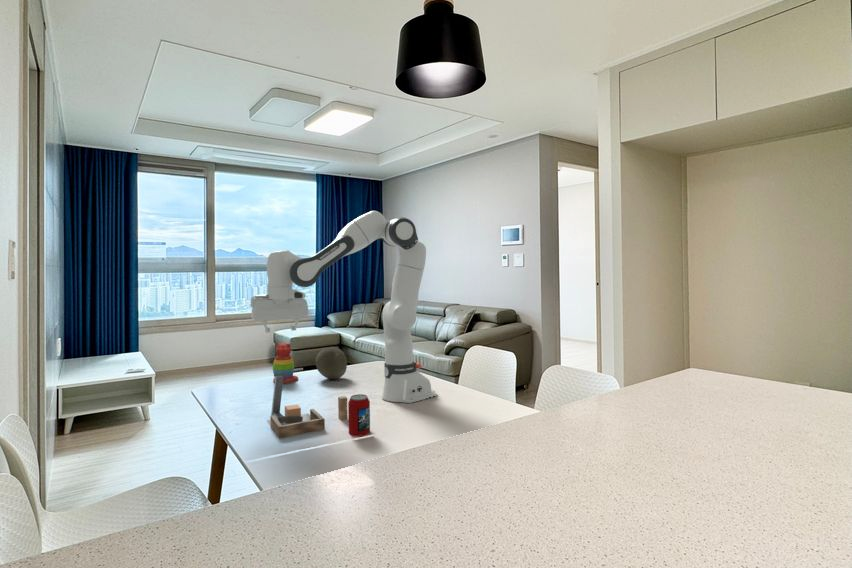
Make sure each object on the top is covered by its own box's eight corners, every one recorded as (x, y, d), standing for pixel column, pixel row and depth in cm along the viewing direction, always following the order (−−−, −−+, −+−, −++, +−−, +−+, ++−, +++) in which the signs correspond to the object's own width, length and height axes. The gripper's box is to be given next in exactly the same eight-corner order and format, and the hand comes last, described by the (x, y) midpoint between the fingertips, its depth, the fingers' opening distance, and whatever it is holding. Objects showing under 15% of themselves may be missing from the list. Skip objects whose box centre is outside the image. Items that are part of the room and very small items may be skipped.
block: (298, 416, 162) (297, 404, 162) (301, 420, 158) (300, 407, 158) (284, 419, 160) (284, 406, 160) (287, 423, 156) (287, 409, 156)
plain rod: (345, 418, 162) (344, 395, 161) (347, 420, 160) (347, 397, 159) (338, 419, 161) (338, 397, 160) (340, 421, 159) (340, 398, 158)
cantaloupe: (332, 374, 226) (332, 343, 225) (353, 378, 218) (353, 346, 217) (309, 380, 215) (309, 348, 214) (331, 385, 206) (330, 351, 206)
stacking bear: (299, 379, 217) (298, 341, 217) (291, 384, 207) (290, 345, 207) (277, 378, 219) (276, 341, 218) (268, 384, 208) (267, 344, 208)
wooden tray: (308, 415, 166) (308, 403, 166) (324, 431, 150) (324, 418, 149) (266, 422, 159) (266, 410, 158) (279, 440, 142) (278, 427, 142)
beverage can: (366, 438, 143) (365, 400, 143) (345, 437, 145) (344, 399, 144) (372, 430, 150) (372, 394, 149) (353, 429, 151) (352, 393, 151)
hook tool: (294, 416, 167) (298, 376, 169) (302, 422, 156) (306, 380, 158) (271, 416, 164) (275, 376, 165) (277, 422, 152) (281, 379, 154)
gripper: (252, 295, 163) (253, 334, 164) (309, 293, 174) (310, 330, 174) (248, 294, 169) (249, 332, 170) (304, 292, 179) (305, 328, 180)
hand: (280, 331), depth 172 cm, fingers open, 8 cm apart
